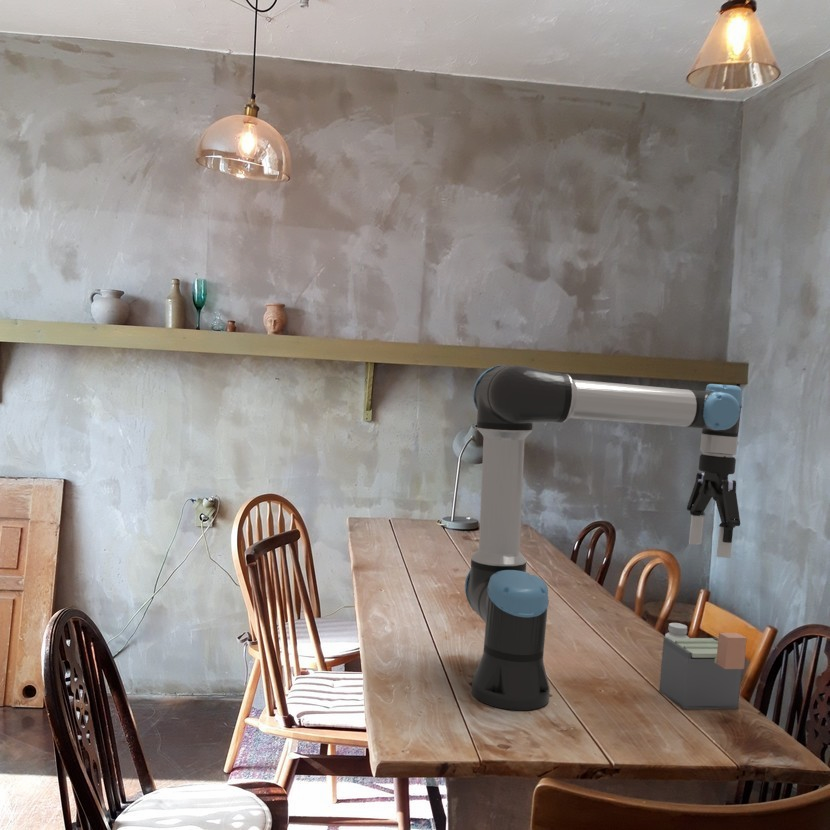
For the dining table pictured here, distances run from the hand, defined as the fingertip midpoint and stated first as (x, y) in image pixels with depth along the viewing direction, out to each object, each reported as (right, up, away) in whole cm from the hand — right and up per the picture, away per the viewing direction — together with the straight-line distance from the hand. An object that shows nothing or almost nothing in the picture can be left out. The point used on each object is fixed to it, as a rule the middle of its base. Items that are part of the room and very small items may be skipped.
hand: (708, 550), depth 183 cm
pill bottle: (-6, -27, +3) cm, 28 cm away
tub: (-8, -28, -15) cm, 32 cm away
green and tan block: (-6, -18, -19) cm, 26 cm away
